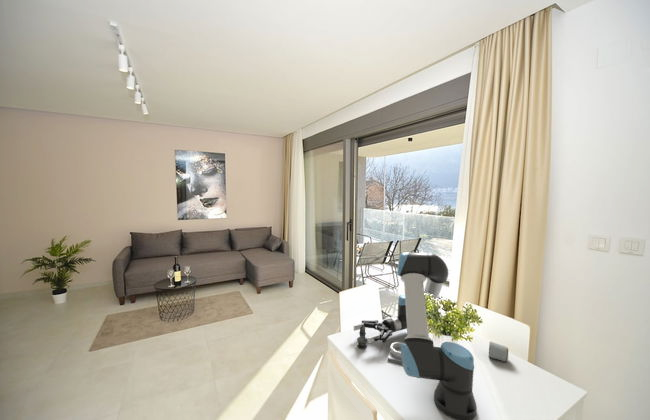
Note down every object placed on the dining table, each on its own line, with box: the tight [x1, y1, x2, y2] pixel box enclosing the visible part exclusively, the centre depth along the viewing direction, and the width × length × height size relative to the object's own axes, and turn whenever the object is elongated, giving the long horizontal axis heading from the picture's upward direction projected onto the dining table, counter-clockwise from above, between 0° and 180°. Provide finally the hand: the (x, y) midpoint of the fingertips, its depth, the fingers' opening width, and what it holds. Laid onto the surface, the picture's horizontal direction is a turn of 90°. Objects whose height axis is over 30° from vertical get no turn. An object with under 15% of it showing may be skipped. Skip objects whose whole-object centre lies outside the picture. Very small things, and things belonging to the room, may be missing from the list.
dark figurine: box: [356, 325, 368, 350], centre depth 144 cm, size 6×6×12 cm
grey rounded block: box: [488, 341, 509, 362], centre depth 137 cm, size 11×8×8 cm
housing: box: [387, 341, 403, 366], centre depth 135 cm, size 15×20×4 cm
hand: (360, 333), depth 144 cm, fingers open, 13 cm apart
